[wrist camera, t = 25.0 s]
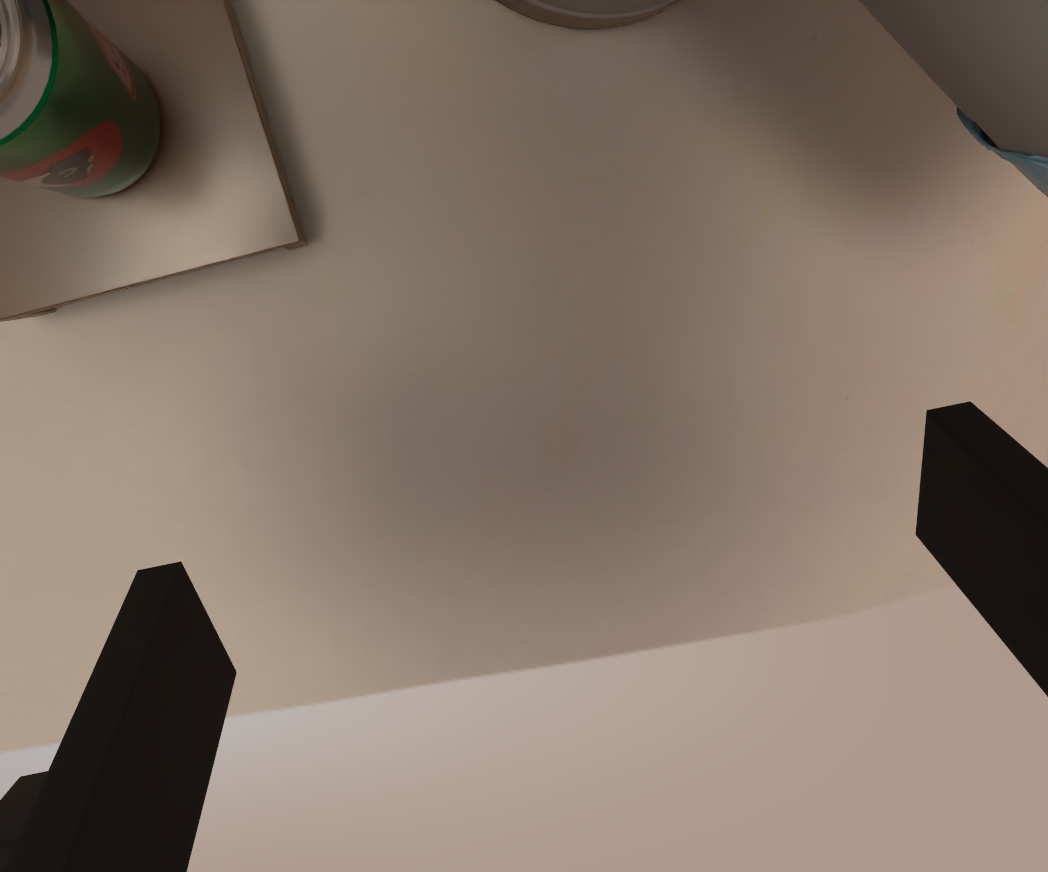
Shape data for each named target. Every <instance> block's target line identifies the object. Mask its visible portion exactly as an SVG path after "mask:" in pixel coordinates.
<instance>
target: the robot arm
mask: <svg viewBox="0 0 1048 872" xmlns="http://www.w3.org/2000/svg"><path fill="white" fill-rule="evenodd" d="M499 1H500V2H502V3H504V4H505V5H507V6H508V7H510V8H512V9H514V10H516V11H518V12H520V13H522V14H524V15H527V16H530V17H532V18H535V19H538V20H540V21H543V22H547V23H551V24H555V25H559V26H565V27H572V28H584V29H600V28H612V27H618V26H623V25H628V24H632V23H635V22H638V21H642V20H645V19H647V18H649V17H652V16H654V15H656V14H659V13H661V12H663V11H664V10H666V9H668V8H670V7H671V6H673V5H675V4H676V3H678V2H679V1H681V0H499ZM859 2H860V3H861V4H862V5H863V6H864V7H865V8H866V9H867V10H868V11H869V12H870V13H871V14H872V16H873V17H874V18H875V19H876V20H877V21H878V22H879V23H880V24H881V25H882V26H883V27H884V28H885V29H886V31H887V32H888V33H889V34H890V35H891V36H892V37H893V38H894V39H895V40H896V41H897V42H898V43H899V45H900V46H901V47H902V48H903V49H904V50H905V51H906V52H907V53H908V54H909V55H910V56H911V57H912V58H913V60H914V61H915V62H916V63H917V64H918V65H919V66H920V67H921V68H922V69H923V70H924V71H925V72H926V74H927V75H928V76H929V77H930V78H931V79H932V80H933V81H934V82H935V83H936V84H937V85H938V86H939V87H940V89H941V90H942V91H943V92H944V93H945V94H946V95H947V96H948V97H949V98H950V99H951V100H952V101H953V103H954V104H955V105H956V106H957V114H958V117H959V119H960V120H961V122H962V123H963V125H964V126H965V127H966V129H967V130H968V131H969V133H970V134H971V135H972V136H973V137H974V138H975V139H976V140H977V141H978V142H979V143H980V144H981V145H983V146H984V147H985V148H987V149H988V150H992V151H994V152H995V153H996V154H997V155H999V156H1000V157H1001V158H1003V159H1005V160H1007V161H1010V162H1011V163H1012V164H1013V165H1014V166H1015V167H1016V168H1017V169H1018V170H1019V171H1020V172H1021V173H1022V174H1023V175H1024V176H1025V177H1026V178H1027V179H1028V180H1030V181H1031V182H1032V183H1033V184H1034V185H1035V186H1036V187H1037V188H1038V189H1039V190H1040V191H1041V192H1042V193H1044V194H1045V195H1046V196H1047V197H1048V0H859ZM916 536H917V537H918V538H919V539H920V540H921V542H922V543H923V544H924V545H925V547H926V548H927V549H928V550H929V552H930V553H931V554H932V555H933V556H934V558H935V559H936V560H937V561H938V563H939V564H940V565H941V566H942V567H943V569H944V570H945V571H946V572H947V574H948V575H949V576H950V577H951V578H952V580H953V581H954V582H955V583H956V585H957V586H958V587H959V588H960V590H961V591H962V592H963V593H964V594H965V596H966V597H967V598H968V599H969V601H970V602H971V603H972V604H973V605H974V606H975V608H976V609H977V610H978V612H979V613H980V614H981V615H982V616H983V618H984V619H985V620H986V621H987V623H988V624H989V625H990V626H991V627H992V629H993V630H994V631H995V632H996V634H997V635H998V636H999V637H1000V639H1001V640H1002V641H1003V642H1004V643H1005V645H1006V646H1007V647H1008V648H1009V649H1010V651H1011V652H1012V653H1013V654H1014V656H1015V657H1016V658H1017V659H1018V661H1019V662H1020V663H1021V664H1022V665H1023V667H1024V668H1025V669H1026V670H1027V672H1028V673H1029V674H1030V675H1031V676H1032V678H1033V679H1034V680H1035V681H1036V683H1037V684H1038V685H1039V686H1040V688H1041V689H1042V690H1043V691H1044V692H1045V694H1046V695H1047V696H1048V468H1047V467H1046V466H1045V465H1044V464H1042V463H1041V462H1040V461H1039V460H1038V459H1037V458H1035V457H1034V456H1033V455H1032V454H1031V453H1030V452H1028V451H1027V450H1026V449H1025V448H1024V447H1023V446H1021V445H1020V444H1019V443H1018V442H1017V441H1016V440H1014V439H1013V438H1012V437H1011V436H1010V435H1009V434H1008V433H1006V432H1005V431H1004V430H1003V429H1002V428H1001V427H999V426H998V425H997V424H996V423H995V422H994V421H992V420H991V419H990V418H989V417H988V416H987V415H985V414H984V413H983V412H982V411H981V410H980V409H978V408H977V407H976V406H975V405H974V404H973V403H971V402H965V403H960V404H956V405H951V406H946V407H941V408H936V409H931V410H927V413H926V424H925V436H924V447H923V458H922V469H921V480H920V492H919V503H918V514H917V525H916ZM235 676H236V670H235V668H234V666H233V664H232V662H231V660H230V658H229V656H228V654H227V652H226V650H225V648H224V646H223V644H222V642H221V640H220V638H219V636H218V634H217V632H216V630H215V628H214V626H213V624H212V622H211V620H210V618H209V616H208V614H207V612H206V610H205V608H204V606H203V604H202V602H201V600H200V598H199V596H198V594H197V592H196V590H195V588H194V586H193V584H192V582H191V580H190V578H189V576H188V574H187V572H186V570H185V568H184V566H183V564H182V562H177V563H172V564H167V565H162V566H157V567H152V568H147V569H142V570H138V571H137V573H136V575H135V578H134V580H133V582H132V584H131V587H130V589H129V591H128V593H127V596H126V598H125V600H124V602H123V605H122V607H121V609H120V611H119V614H118V616H117V618H116V620H115V623H114V625H113V627H112V629H111V632H110V634H109V636H108V638H107V641H106V643H105V645H104V647H103V649H102V652H101V654H100V656H99V658H98V661H97V663H96V665H95V667H94V670H93V672H92V674H91V676H90V679H89V681H88V683H87V685H86V688H85V690H84V692H83V694H82V697H81V699H80V701H79V703H78V706H77V708H76V710H75V712H74V715H73V717H72V719H71V721H70V724H69V726H68V728H67V730H66V733H65V735H64V737H63V739H62V742H61V744H60V746H59V748H58V751H57V753H56V755H55V758H54V760H53V762H52V764H51V766H50V769H49V771H46V772H42V773H36V774H32V775H27V776H22V777H20V778H19V779H18V780H17V781H16V782H15V784H14V785H13V786H12V787H11V788H10V789H9V791H8V792H7V793H6V794H5V795H4V797H3V798H2V799H1V800H0V872H187V868H188V864H189V860H190V855H191V851H192V848H193V844H194V839H195V836H196V832H197V828H198V824H199V820H200V816H201V812H202V808H203V804H204V800H205V796H206V792H207V788H208V784H209V780H210V776H211V772H212V768H213V764H214V760H215V756H216V752H217V748H218V744H219V740H220V736H221V732H222V728H223V724H224V720H225V716H226V712H227V708H228V704H229V700H230V696H231V692H232V688H233V684H234V680H235Z"/></svg>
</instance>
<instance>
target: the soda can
mask: <svg viewBox="0 0 1048 872" xmlns="http://www.w3.org/2000/svg"><path fill="white" fill-rule="evenodd" d="M160 138H161V116H160V110H159V106H158V102H157V99H156V96H155V94H154V92H153V89H152V87H151V85H150V84H149V82H148V80H147V79H146V77H145V76H144V74H143V73H142V72H141V71H140V70H139V68H138V67H137V66H136V65H135V64H134V63H133V62H132V61H131V60H130V59H129V58H128V57H127V56H126V55H125V54H123V53H122V52H121V51H120V50H119V49H118V48H117V47H116V46H115V45H114V44H113V43H112V42H111V41H110V40H109V39H108V38H106V37H105V36H104V35H103V34H102V33H101V32H100V31H99V30H98V29H97V28H96V27H95V26H94V25H93V24H92V23H91V22H89V21H88V20H87V19H86V18H85V17H84V16H83V15H82V14H81V13H80V12H79V11H78V10H77V9H76V8H75V7H74V6H72V5H71V4H70V3H69V2H68V1H67V0H0V177H2V178H6V179H10V180H13V181H17V182H21V183H25V184H29V185H32V186H36V187H40V188H44V189H48V190H51V191H55V192H59V193H63V194H66V195H71V196H78V197H99V196H105V195H109V194H112V193H115V192H118V191H120V190H122V189H124V188H126V187H128V186H130V185H131V184H132V183H134V182H135V181H136V180H138V179H139V178H140V177H141V176H142V175H143V174H144V172H145V171H146V170H147V169H148V167H149V166H150V164H151V163H152V161H153V160H154V157H155V155H156V152H157V150H158V146H159V142H160Z"/></svg>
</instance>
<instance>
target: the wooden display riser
mask: <svg viewBox="0 0 1048 872" xmlns="http://www.w3.org/2000/svg"><path fill="white" fill-rule="evenodd" d="M67 1H68V2H69V3H70V4H71V5H72V6H74V7H75V8H76V9H77V10H78V11H79V12H80V13H81V14H82V15H83V16H84V17H85V18H86V19H87V20H88V21H89V22H91V23H92V24H93V25H94V26H95V27H96V28H97V29H98V30H99V31H100V32H101V33H102V34H103V35H104V36H105V37H106V38H108V39H109V40H110V41H111V42H112V43H113V44H114V45H115V46H116V47H117V48H118V49H119V50H120V51H121V52H122V53H123V54H125V55H126V56H127V57H128V58H129V59H130V60H131V61H132V62H133V63H134V64H135V65H136V66H137V67H138V68H139V70H140V71H141V72H142V73H143V74H144V76H145V77H146V79H147V80H148V82H149V84H150V85H151V87H152V89H153V92H154V94H155V96H156V99H157V102H158V106H159V110H160V116H161V138H160V142H159V146H158V150H157V152H156V155H155V157H154V160H153V161H152V163H151V164H150V166H149V167H148V169H147V170H146V171H145V172H144V174H143V175H142V176H141V177H140V178H139V179H138V180H136V181H135V182H134V183H132V184H131V185H130V186H128V187H126V188H124V189H122V190H120V191H118V192H115V193H112V194H109V195H105V196H99V197H78V196H71V195H66V194H63V193H59V192H55V191H51V190H48V189H44V188H40V187H36V186H32V185H29V184H25V183H21V182H17V181H13V180H10V179H6V178H2V177H0V322H1V321H9V320H15V319H22V318H29V317H36V316H41V315H44V314H48V313H52V312H55V311H56V308H55V307H58V306H62V305H66V304H70V303H74V302H77V301H81V300H85V299H89V298H93V297H97V296H100V295H104V294H108V293H112V292H116V291H119V290H123V289H127V288H131V287H135V286H139V285H142V284H146V283H150V282H154V281H158V280H161V279H165V278H169V277H173V276H177V275H181V274H184V273H188V272H192V271H196V270H200V269H203V268H207V267H211V266H215V265H219V264H222V263H226V262H230V261H234V260H238V259H242V258H245V257H249V256H253V255H257V254H261V253H264V252H268V251H272V250H276V249H280V248H285V249H288V250H292V249H296V248H299V247H303V246H307V241H306V238H305V235H304V232H303V229H302V225H301V222H300V219H299V216H298V213H297V209H296V206H295V203H294V200H293V197H292V194H291V190H290V187H289V184H288V181H287V178H286V175H285V171H284V168H283V165H282V162H281V159H280V155H279V152H278V149H277V146H276V143H275V140H274V136H273V133H272V130H271V127H270V124H269V121H268V117H267V114H266V111H265V108H264V105H263V101H262V98H261V95H260V92H259V89H258V86H257V82H256V79H255V76H254V73H253V70H252V67H251V63H250V60H249V57H248V54H247V51H246V47H245V44H244V41H243V38H242V35H241V32H240V28H239V25H238V22H237V19H236V16H235V13H234V9H233V6H232V3H231V0H67Z"/></svg>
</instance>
